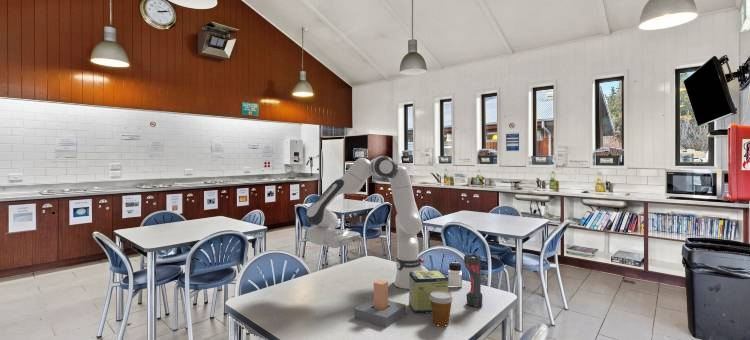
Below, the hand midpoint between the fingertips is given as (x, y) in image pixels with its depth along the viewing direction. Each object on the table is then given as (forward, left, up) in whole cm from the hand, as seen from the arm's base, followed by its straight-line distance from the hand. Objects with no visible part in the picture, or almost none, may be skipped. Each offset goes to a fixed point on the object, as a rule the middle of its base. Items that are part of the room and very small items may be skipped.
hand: (357, 241), depth 175 cm
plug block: (-3, +19, -28) cm, 34 cm away
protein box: (-26, +21, -29) cm, 44 cm away
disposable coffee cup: (-22, +36, -28) cm, 51 cm away
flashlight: (-47, +26, -28) cm, 61 cm away
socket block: (-3, +19, -28) cm, 34 cm away
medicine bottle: (-56, +2, -29) cm, 63 cm away
